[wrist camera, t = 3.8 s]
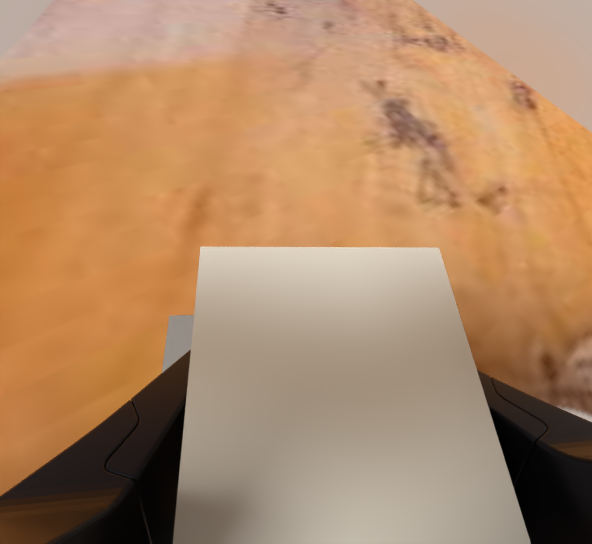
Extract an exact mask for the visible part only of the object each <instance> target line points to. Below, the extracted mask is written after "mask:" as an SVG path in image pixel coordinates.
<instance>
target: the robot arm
mask: <svg viewBox="0 0 592 544" xmlns="http://www.w3.org/2000/svg"><path fill="white" fill-rule="evenodd" d="M190 354H191V349H190V350H189V351H188V352H187V353H185V354H184V355H183V356H182V357H181V358H179V359H178V360H177V361H176V362H175V363H173V364H172V365H171V366H170V367H169V368H167V369H166V370H165V371H164V372H163V373H161V374H160V375H159V376H158V377H157V378H155V379H154V380H153V381H152V382H151V383H149V384H148V385H147V386H146V387H145V388H143V389H142V390H141V391H140V392H139V393H137V394H136V395H135V396H134V397H133V398H132V399H131V400H129V401H128V402H127V403H125V404H124V405H123V406H122V407H121V408H119V409H118V410H117V411H116V412H114V413H113V414H112V415H111V416H109V417H108V418H107V419H106V420H104V421H103V422H102V423H101V424H99V425H98V426H97V427H96V428H94V429H93V430H92V431H90V432H89V433H87V434H86V435H85V436H83V437H82V438H81V439H79V440H78V441H77V442H75V443H74V444H73V445H71V446H70V447H68V448H67V449H66V450H64V451H63V452H62V453H60V454H59V455H57V456H56V457H55V458H53V459H52V460H50V461H49V462H48V463H46V464H45V465H43V466H42V467H41V468H39V469H38V470H36V471H35V472H34V473H32V474H31V475H30V476H28V477H27V478H25V479H24V480H23V481H21V482H20V483H18V484H17V485H16V486H14V487H13V488H11V489H10V490H9V491H7V492H6V493H4V494H3V495H1V496H0V544H173V535H174V524H175V514H176V503H177V493H178V482H179V471H180V461H181V450H182V439H183V429H184V418H185V407H186V397H187V386H188V376H189V365H190ZM477 372H478V375H479V378H480V382H481V385H482V388H483V391H484V394H485V398H486V401H487V404H488V407H489V410H490V414H491V417H492V420H493V423H494V426H495V430H496V433H497V436H498V439H499V443H500V446H501V449H502V452H503V455H504V459H505V462H506V465H507V468H508V471H509V475H510V478H511V481H512V484H513V488H514V491H515V494H516V497H517V500H518V504H519V507H520V510H521V513H522V516H523V520H524V523H525V526H526V529H527V533H528V536H529V539H530V542H531V544H592V422H590V421H587V420H585V419H583V418H581V417H578V416H576V415H574V414H571V413H569V412H567V411H564V410H562V409H560V408H557V407H555V406H553V405H551V404H548V403H546V402H544V401H542V400H539V399H537V398H535V397H533V396H530V395H528V394H526V393H524V392H522V391H520V390H517V389H515V388H513V387H511V386H509V385H507V384H505V383H503V382H501V381H499V380H497V379H495V378H492V377H491V378H490V376H488V375H486V374H484V373H482V372H480V371H478V370H477Z"/></svg>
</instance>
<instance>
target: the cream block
mask: <svg viewBox="0 0 592 544" xmlns="http://www.w3.org/2000/svg"><path fill="white" fill-rule="evenodd" d="M173 544H531V542H530V539H529V536H528V533H527V529H526V526H525V523H524V520H523V516H522V513H521V510H520V507H519V504H518V500H517V497H516V494H515V491H514V488H513V484H512V481H511V478H510V475H509V471H508V468H507V465H506V462H505V459H504V455H503V452H502V449H501V446H500V443H499V439H498V436H497V433H496V430H495V426H494V423H493V420H492V417H491V414H490V410H489V407H488V404H487V401H486V398H485V394H484V391H483V388H482V385H481V382H480V378H479V375H478V372H477V369H476V365H475V362H474V359H473V356H472V353H471V349H470V346H469V343H468V340H467V337H466V333H465V330H464V327H463V324H462V320H461V317H460V314H459V311H458V308H457V304H456V301H455V298H454V295H453V292H452V288H451V285H450V282H449V279H448V275H447V272H446V269H445V266H444V263H443V259H442V256H441V253H440V250H439V248H392V247H201V248H200V259H199V269H198V280H197V291H196V301H195V312H194V322H193V333H192V344H191V354H190V365H189V376H188V386H187V397H186V407H185V418H184V429H183V439H182V450H181V461H180V471H179V482H178V493H177V503H176V514H175V524H174V535H173Z"/></svg>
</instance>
